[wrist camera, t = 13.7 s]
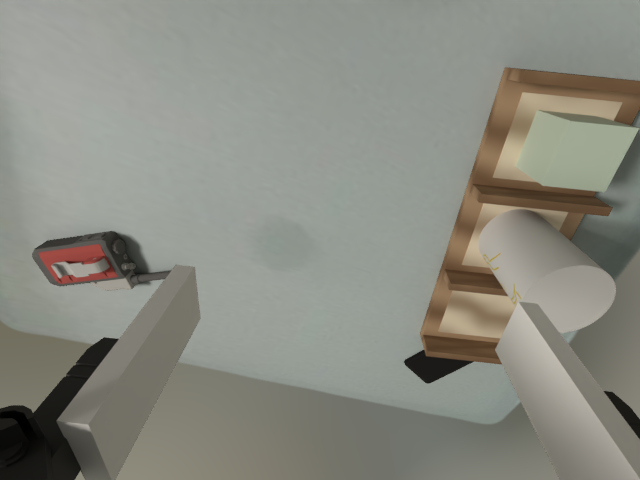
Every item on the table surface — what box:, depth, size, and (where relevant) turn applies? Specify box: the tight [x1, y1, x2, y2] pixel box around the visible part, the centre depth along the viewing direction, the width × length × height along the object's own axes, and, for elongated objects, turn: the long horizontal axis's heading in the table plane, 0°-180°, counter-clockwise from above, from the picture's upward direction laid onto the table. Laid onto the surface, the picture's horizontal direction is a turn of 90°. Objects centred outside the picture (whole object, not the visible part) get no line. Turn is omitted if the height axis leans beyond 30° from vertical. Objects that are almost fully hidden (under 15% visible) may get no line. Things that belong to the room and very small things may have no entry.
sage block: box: [515, 110, 639, 192], centre depth 34 cm, size 6×6×6 cm
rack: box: [420, 67, 640, 364], centre depth 42 cm, size 37×14×4 cm, turn 175°
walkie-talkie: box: [32, 231, 171, 291], centre depth 48 cm, size 9×4×20 cm
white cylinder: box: [478, 209, 616, 333], centre depth 37 cm, size 8×8×12 cm
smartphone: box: [404, 350, 474, 383], centre depth 54 cm, size 7×1×15 cm
